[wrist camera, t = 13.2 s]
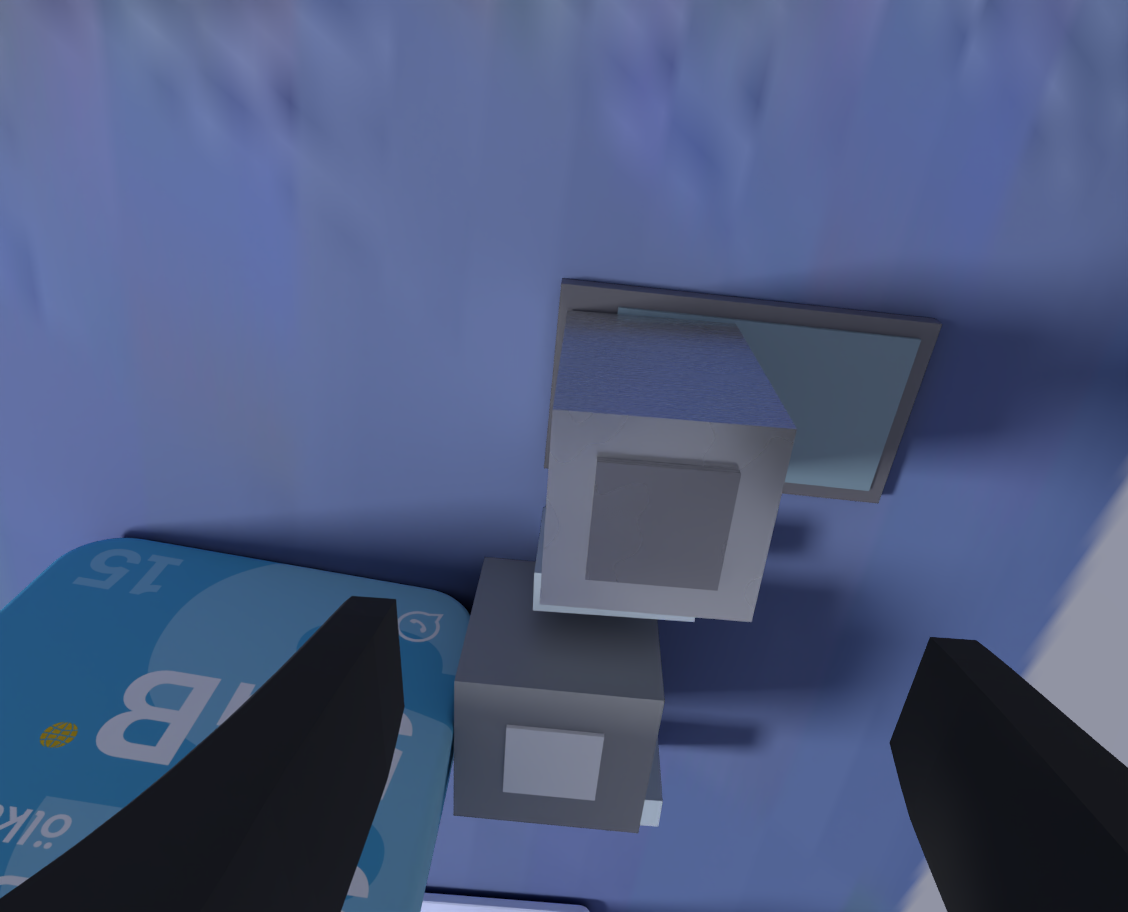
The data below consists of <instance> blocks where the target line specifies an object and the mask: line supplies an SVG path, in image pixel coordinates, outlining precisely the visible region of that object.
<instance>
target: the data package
mask: <svg viewBox="0 0 1128 912" xmlns="http://www.w3.org/2000/svg"><path fill="white" fill-rule="evenodd" d="M351 596H361V597H375V598H389V599H396V604H397V617H398V629H399V642H400V655H401V667H402V680H403V693H404V705H405V707H404V712H403V716H402V720H401V725H400V729H399V734H398V738H397V743H396V747H395V751H394V755H393V759H392V763H391V768H390V772H389V776H388V780H387V782H386V785H385V788H384V791H383V794H382V797H381V800H380V803H379V806H378V808H377V811H376V814H375V817H374V820H373V823H372V826H371V828H370V831H369V834H368V837H367V840H366V843H365V845H364V848H363V851H362V854H361V857H360V859H359V862H358V865H357V868H356V871H355V873H354V876H353V879H352V882H351V885H350V887H349V890H348V893H347V896H346V899H345V901H344V904H343V907H342V910H341V912H420V911H421V907H422V902H423V897H424V893H425V888H426V884H427V879H428V874H429V870H430V865H431V860H432V856H433V851H434V847H435V842H436V837H437V833H438V828H439V824H440V819H441V814H442V810H443V805H444V801H445V796H446V791H447V787H448V782H449V778H450V773H451V768H452V764H453V759H454V680H455V676H456V672H457V668H458V664H459V660H460V656H461V652H462V648H463V644H464V640H465V636H466V631H467V627H468V623H469V619H470V614H469V613H468V611H467V610H466V609H465V607H464V606H463V605H462V604H460V603H459V602H458V601H457V600H455V599H454V598H452V597H450V596H449V595H447V594H444V593H442V592H439V591H436V590H432V589H427V588H421V587H415V586H410V585H404V584H398V583H392V582H387V581H381V580H375V579H369V578H364V577H358V576H352V575H346V574H341V573H335V572H329V571H323V570H318V569H312V568H306V567H300V566H295V565H289V564H283V563H277V562H271V561H266V560H260V559H254V558H248V557H243V556H237V555H231V554H225V553H220V552H214V551H208V550H202V549H197V548H191V547H185V546H179V545H174V544H168V543H162V542H156V541H150V540H145V539H138V538H114V539H106V540H101V541H96V542H93V543H89V544H86V545H83V546H80V547H78V548H76V549H74V550H71V551H70V552H68V553H66V554H64V555H63V556H61V557H60V558H58V559H57V560H56V561H54V562H53V563H52V564H51V565H50V566H49V567H48V568H47V569H46V570H44V571H43V572H42V573H41V574H40V575H39V576H38V577H37V578H36V579H35V580H33V581H32V582H31V583H30V584H29V585H28V586H27V587H26V588H25V589H24V590H22V591H21V592H20V593H19V594H18V595H17V596H16V597H15V598H14V599H13V600H11V601H10V602H9V603H8V604H7V605H6V606H5V607H4V608H3V609H2V610H1V611H0V898H1V897H3V896H4V895H6V894H7V893H8V892H10V891H11V890H13V889H14V888H16V887H17V886H19V885H20V884H21V883H23V882H24V881H26V880H27V879H29V878H30V877H31V876H33V875H34V874H35V873H37V872H38V871H40V870H41V869H42V868H44V867H45V866H47V865H48V864H49V863H51V862H52V861H54V860H55V859H56V858H58V857H59V856H61V855H62V854H63V853H65V852H66V851H67V850H69V849H70V848H72V847H73V846H74V845H76V844H77V843H78V842H80V841H81V840H82V839H84V838H85V837H86V836H88V835H89V834H90V833H91V832H93V831H94V830H95V829H97V828H98V827H99V826H101V825H102V824H103V823H104V822H106V821H107V820H108V819H110V818H111V817H112V816H113V815H115V814H116V813H117V812H119V811H120V810H121V809H122V808H124V807H125V806H126V805H127V804H129V803H130V802H131V801H132V800H134V799H135V798H136V797H137V796H139V795H140V794H141V793H142V792H144V791H145V790H146V789H147V788H148V787H150V786H151V785H152V784H153V783H154V782H156V781H157V780H158V779H159V778H160V777H162V776H163V775H164V774H165V773H166V772H168V771H169V770H170V769H171V768H172V767H173V766H175V765H176V764H177V763H178V762H179V761H180V760H181V759H182V758H184V757H185V756H186V755H187V754H188V753H189V752H190V751H192V750H193V749H194V748H195V747H196V746H197V745H198V744H199V743H201V742H202V741H203V740H204V739H205V738H206V737H207V736H208V735H210V734H211V733H212V732H213V731H214V730H215V729H216V728H218V727H219V726H220V725H221V724H222V723H223V722H224V721H225V720H226V719H228V718H229V717H230V716H231V715H232V714H233V713H234V712H235V711H236V710H237V709H238V708H239V707H240V706H241V705H242V704H243V703H244V702H246V701H247V700H248V699H249V698H250V697H251V696H252V695H253V694H254V693H255V692H256V691H257V690H258V689H259V688H260V687H261V686H262V685H263V684H264V683H265V682H266V681H267V680H268V679H269V678H270V677H271V676H272V675H273V674H274V673H276V672H277V671H278V670H279V669H280V668H281V667H282V666H283V665H284V664H285V663H286V662H287V661H288V660H289V659H290V658H291V657H292V655H293V654H294V653H295V652H296V651H297V650H298V649H299V648H300V647H301V646H302V645H303V644H304V643H305V642H306V641H307V640H308V639H309V638H310V637H311V636H312V635H313V634H314V633H315V632H316V631H317V630H318V629H319V628H320V627H321V626H322V625H323V624H324V623H325V622H326V620H327V619H328V618H329V617H330V616H331V615H332V614H333V613H334V612H335V611H336V610H337V609H338V608H339V607H340V606H341V605H342V604H343V603H344V602H345V601H346V600H347V599H349V598H350V597H351Z"/></svg>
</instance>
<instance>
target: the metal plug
mask: <svg viewBox="0 0 1128 912" xmlns="http://www.w3.org/2000/svg"><path fill="white" fill-rule="evenodd" d="M796 431H797V428H796V427H795V425H794V423H793V421H792V420H791V418H790V416H789V415H788V413H787V411H786V409H785V408H784V406H783V404H782V402H781V401H780V399H779V397H778V396H777V394H776V392H775V390H774V389H773V387H772V385H771V383H770V382H769V380H768V378H767V377H766V375H765V373H764V371H763V370H762V368H761V366H760V364H759V363H758V361H757V359H756V358H755V356H754V354H753V352H752V351H751V349H750V347H749V345H748V344H747V342H746V340H745V339H744V337H743V335H742V333H741V332H740V330H739V328H738V326H737V325H736V324H734V323H722V322H709V321H697V320H684V319H672V318H659V317H647V316H634V315H622V314H609V313H597V312H584V311H572V310H567V316H566V323H565V330H564V336H563V343H562V350H561V356H560V363H559V370H558V376H557V383H556V390H555V396H554V403H553V410H552V425H551V440H550V455H549V470H548V484H547V499H546V514H545V529H544V544H543V559H542V574H541V589H540V604H541V605H553V606H565V607H577V608H589V609H601V610H613V611H625V612H637V613H648V614H660V615H672V616H684V617H696V618H708V619H720V620H732V621H744V622H752V618H753V614H754V610H755V605H756V601H757V597H758V593H759V588H760V584H761V580H762V576H763V571H764V567H765V563H766V559H767V554H768V550H769V546H770V542H771V537H772V533H773V529H774V525H775V520H776V516H777V512H778V508H779V503H780V499H781V495H782V491H783V486H784V482H785V478H786V474H787V469H788V465H789V461H790V457H791V452H792V448H793V444H794V440H795V435H796Z"/></svg>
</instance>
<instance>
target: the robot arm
mask: <svg viewBox="0 0 1128 912" xmlns="http://www.w3.org/2000/svg"><path fill="white" fill-rule="evenodd" d="M404 707H405V705H404V693H403V680H402V667H401V655H400V642H399V629H398V617H397V604H396V599H389V598H375V597H361V596H351V597H350V598H349V599H347V600H346V601H345V602H344V603H343V604H342V605H341V606H340V607H339V608H338V609H337V610H336V611H335V612H334V613H333V614H332V615H331V616H330V617H329V618H328V619H327V620H326V622H325V623H324V624H323V625H322V626H321V627H320V628H319V629H318V630H317V631H316V632H315V633H314V634H313V635H312V636H311V637H310V638H309V639H308V640H307V641H306V642H305V643H304V644H303V645H302V646H301V647H300V648H299V649H298V650H297V651H296V652H295V653H294V654H293V655H292V657H291V658H290V659H289V660H288V661H287V662H286V663H285V664H284V665H283V666H282V667H281V668H280V669H279V670H278V671H277V672H276V673H274V674H273V675H272V676H271V677H270V678H269V679H268V680H267V681H266V682H265V683H264V684H263V685H262V686H261V687H260V688H259V689H258V690H257V691H256V692H255V693H254V694H253V695H252V696H251V697H250V698H249V699H248V700H247V701H246V702H244V703H243V704H242V705H241V706H240V707H239V708H238V709H237V710H236V711H235V712H234V713H233V714H232V715H231V716H230V717H229V718H228V719H226V720H225V721H224V722H223V723H222V724H221V725H220V726H219V727H218V728H216V729H215V730H214V731H213V732H212V733H211V734H210V735H208V736H207V737H206V738H205V739H204V740H203V741H202V742H201V743H199V744H198V745H197V746H196V747H195V748H194V749H193V750H192V751H190V752H189V753H188V754H187V755H186V756H185V757H184V758H182V759H181V760H180V761H179V762H178V763H177V764H176V765H175V766H173V767H172V768H171V769H170V770H169V771H168V772H166V773H165V774H164V775H163V776H162V777H160V778H159V779H158V780H157V781H156V782H154V783H153V784H152V785H151V786H150V787H148V788H147V789H146V790H145V791H144V792H142V793H141V794H140V795H139V796H137V797H136V798H135V799H134V800H132V801H131V802H130V803H129V804H127V805H126V806H125V807H124V808H122V809H121V810H120V811H119V812H117V813H116V814H115V815H113V816H112V817H111V818H110V819H108V820H107V821H106V822H104V823H103V824H102V825H101V826H99V827H98V828H97V829H95V830H94V831H93V832H91V833H90V834H89V835H88V836H86V837H85V838H84V839H82V840H81V841H80V842H78V843H77V844H76V845H74V846H73V847H72V848H70V849H69V850H67V851H66V852H65V853H63V854H62V855H61V856H59V857H58V858H56V859H55V860H54V861H52V862H51V863H49V864H48V865H47V866H45V867H44V868H42V869H41V870H40V871H38V872H37V873H35V874H34V875H33V876H31V877H30V878H29V879H27V880H26V881H24V882H23V883H21V884H20V885H19V886H17V887H16V888H14V889H13V890H11V891H10V892H8V893H7V894H6V895H4V896H3V897H1V898H0V912H341V910H342V907H343V904H344V901H345V899H346V896H347V893H348V890H349V887H350V885H351V882H352V879H353V876H354V873H355V871H356V868H357V865H358V862H359V859H360V857H361V854H362V851H363V848H364V845H365V843H366V840H367V837H368V834H369V831H370V828H371V826H372V823H373V820H374V817H375V814H376V811H377V808H378V806H379V803H380V800H381V797H382V794H383V791H384V788H385V785H386V782H387V780H388V776H389V772H390V768H391V763H392V759H393V755H394V751H395V747H396V743H397V738H398V734H399V729H400V725H401V720H402V716H403V712H404ZM890 746H891V750H892V754H893V758H894V762H895V766H896V770H897V774H898V778H899V782H900V785H901V789H902V792H903V796H904V799H905V803H906V806H907V810H908V813H909V817H910V820H911V822H912V825H913V827H914V830H915V833H916V835H917V838H918V840H919V843H920V845H921V848H922V850H923V853H924V855H925V858H926V860H927V863H928V865H929V868H930V870H931V873H932V875H933V877H934V880H935V882H936V885H937V887H938V890H939V892H940V895H941V897H942V900H943V902H944V904H945V907H946V909H947V911H948V912H1128V768H1127V767H1126V766H1125V765H1124V764H1123V763H1121V762H1120V761H1119V760H1118V759H1117V758H1116V757H1114V756H1113V755H1112V754H1111V753H1109V752H1108V751H1107V750H1106V749H1105V748H1104V747H1102V746H1101V745H1100V744H1099V743H1098V742H1096V741H1095V740H1094V739H1093V738H1092V737H1091V736H1089V735H1088V734H1087V733H1086V732H1085V731H1084V730H1082V729H1081V728H1080V727H1079V726H1078V725H1077V724H1075V723H1074V722H1073V721H1072V720H1071V719H1070V718H1068V717H1067V716H1066V715H1065V714H1064V713H1063V712H1061V711H1060V710H1059V709H1058V708H1057V707H1056V706H1054V705H1053V704H1052V703H1051V702H1050V701H1049V700H1047V699H1046V698H1045V697H1044V696H1043V695H1042V694H1040V693H1039V692H1038V691H1037V690H1036V689H1035V688H1033V687H1032V686H1031V685H1030V684H1029V683H1028V682H1026V681H1025V680H1024V679H1023V678H1022V677H1021V676H1019V675H1018V674H1017V673H1016V672H1015V671H1014V670H1012V669H1011V668H1010V667H1009V666H1008V665H1006V664H1005V663H1004V662H1003V661H1002V660H1000V659H999V658H998V657H997V656H995V655H994V654H993V653H992V652H991V651H989V650H988V649H987V648H985V647H984V646H983V645H982V644H980V643H979V642H978V641H976V640H965V639H951V638H937V637H930V639H929V641H928V644H927V646H926V649H925V652H924V654H923V657H922V660H921V662H920V665H919V667H918V670H917V673H916V675H915V678H914V680H913V683H912V686H911V688H910V691H909V693H908V696H907V699H906V701H905V704H904V706H903V709H902V712H901V714H900V717H899V720H898V722H897V725H896V727H895V730H894V733H893V735H892V738H891V740H890ZM420 912H589V910H588V909H587V908H586V907H584V906H581V905H574V904H561V903H549V902H536V901H523V900H511V899H498V898H486V897H473V896H461V895H448V894H436V893H424V897H423V902H422V907H421V911H420Z"/></svg>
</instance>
